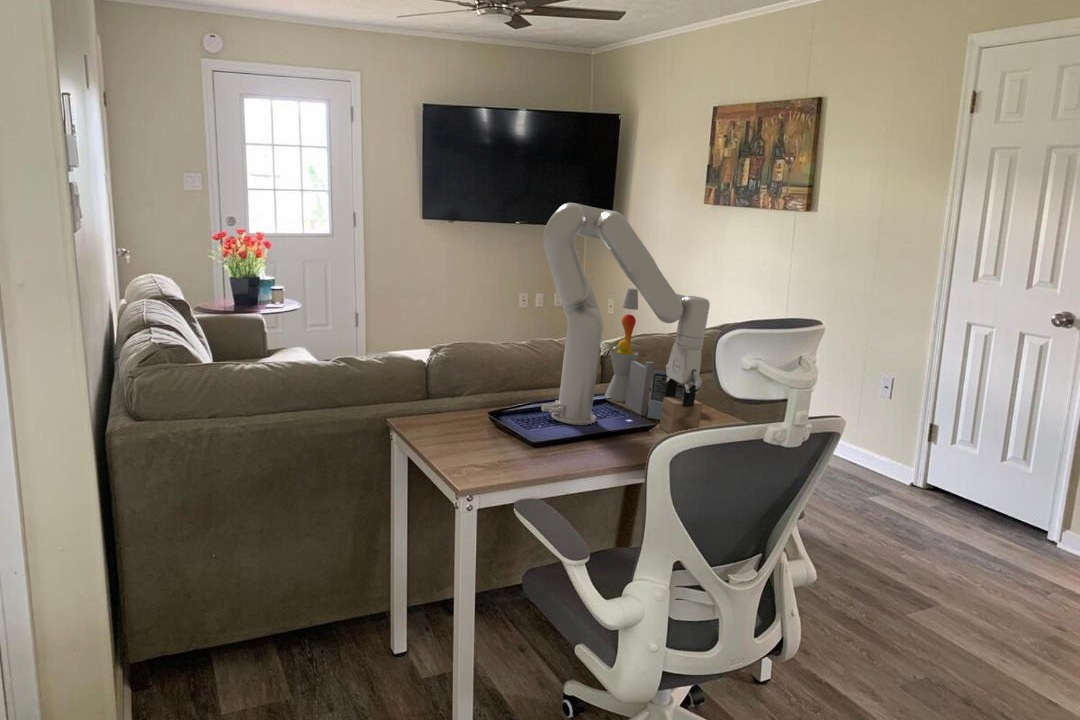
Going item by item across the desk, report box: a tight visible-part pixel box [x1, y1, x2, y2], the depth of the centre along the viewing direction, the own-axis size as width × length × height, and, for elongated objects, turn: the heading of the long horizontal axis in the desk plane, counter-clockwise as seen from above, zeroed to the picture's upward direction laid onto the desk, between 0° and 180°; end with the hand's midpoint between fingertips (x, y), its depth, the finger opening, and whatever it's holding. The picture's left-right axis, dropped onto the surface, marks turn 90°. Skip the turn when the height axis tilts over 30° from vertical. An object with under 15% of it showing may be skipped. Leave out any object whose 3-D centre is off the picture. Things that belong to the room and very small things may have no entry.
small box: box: [649, 369, 686, 402], centre depth 253 cm, size 11×6×10 cm, turn 84°
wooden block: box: [658, 398, 704, 435], centre depth 227 cm, size 9×6×9 cm, turn 112°
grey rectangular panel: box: [624, 360, 655, 416], centre depth 243 cm, size 2×10×16 cm, turn 21°
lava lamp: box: [604, 287, 640, 402], centre depth 253 cm, size 9×9×35 cm
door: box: [646, 399, 663, 421], centre depth 234 cm, size 2×15×5 cm, turn 63°
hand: (678, 401), depth 225 cm, fingers open, 9 cm apart
